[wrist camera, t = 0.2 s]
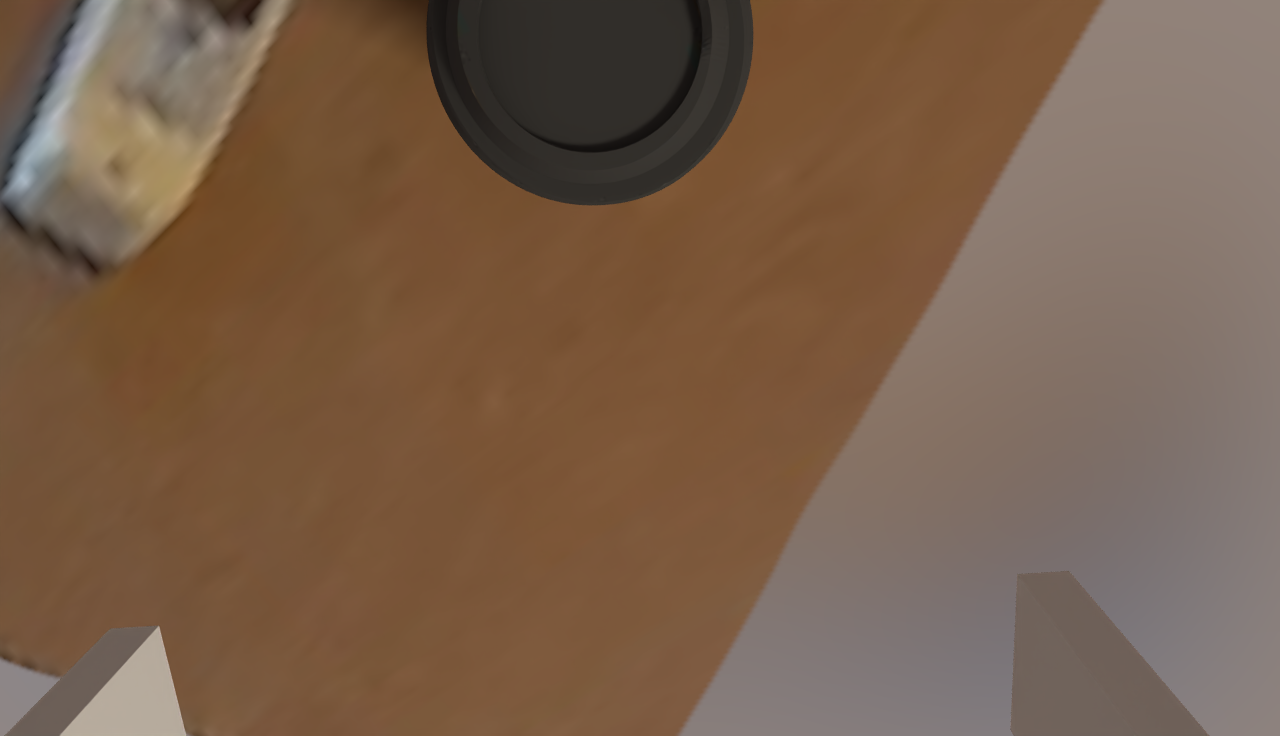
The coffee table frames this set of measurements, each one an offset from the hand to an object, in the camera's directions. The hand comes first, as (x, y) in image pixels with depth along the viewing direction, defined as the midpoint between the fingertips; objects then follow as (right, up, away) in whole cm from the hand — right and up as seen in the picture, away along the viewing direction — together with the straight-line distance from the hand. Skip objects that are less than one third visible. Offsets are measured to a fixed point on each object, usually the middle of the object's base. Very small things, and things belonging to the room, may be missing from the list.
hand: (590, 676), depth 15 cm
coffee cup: (0, +17, +24) cm, 30 cm away
